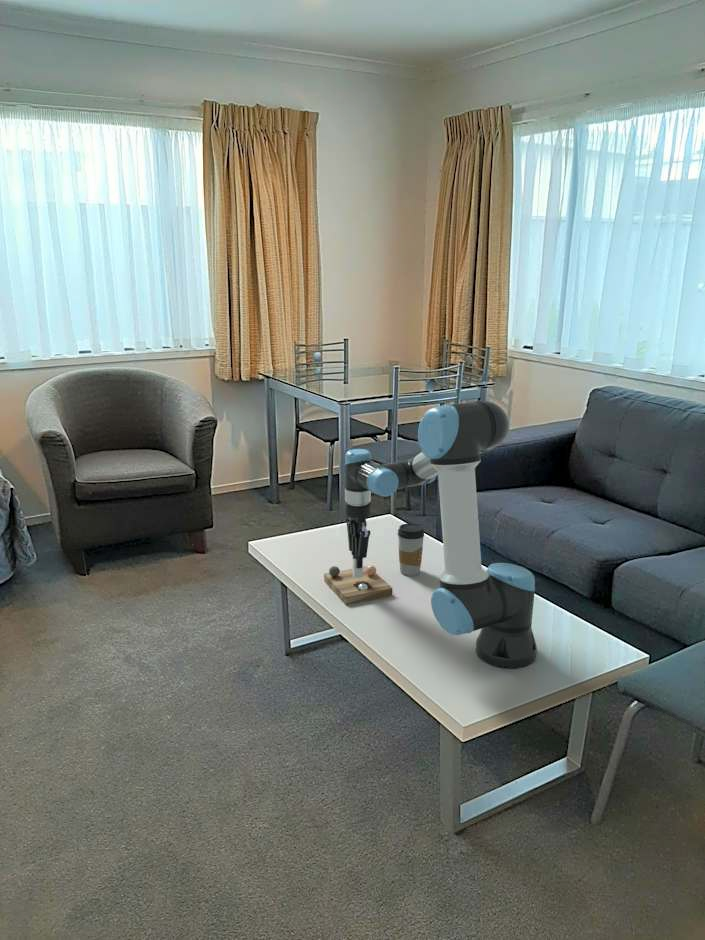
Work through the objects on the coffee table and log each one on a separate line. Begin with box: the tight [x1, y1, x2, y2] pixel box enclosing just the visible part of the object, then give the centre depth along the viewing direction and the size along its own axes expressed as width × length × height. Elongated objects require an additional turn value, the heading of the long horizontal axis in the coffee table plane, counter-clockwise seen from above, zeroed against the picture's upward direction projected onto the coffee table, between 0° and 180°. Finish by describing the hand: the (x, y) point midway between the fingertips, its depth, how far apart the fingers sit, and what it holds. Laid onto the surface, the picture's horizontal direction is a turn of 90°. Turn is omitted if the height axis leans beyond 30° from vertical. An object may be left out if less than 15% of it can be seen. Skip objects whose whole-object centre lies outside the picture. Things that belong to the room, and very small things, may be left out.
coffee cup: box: [397, 522, 425, 577], centre depth 234 cm, size 8×8×15 cm
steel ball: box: [357, 583, 369, 590], centre depth 221 cm, size 3×3×3 cm
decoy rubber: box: [328, 565, 341, 577], centre depth 226 cm, size 3×3×3 cm
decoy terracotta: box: [366, 564, 377, 576], centre depth 227 cm, size 3×3×3 cm
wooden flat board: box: [323, 565, 393, 605], centre depth 224 cm, size 17×15×2 cm
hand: (357, 576), depth 223 cm, fingers closed
